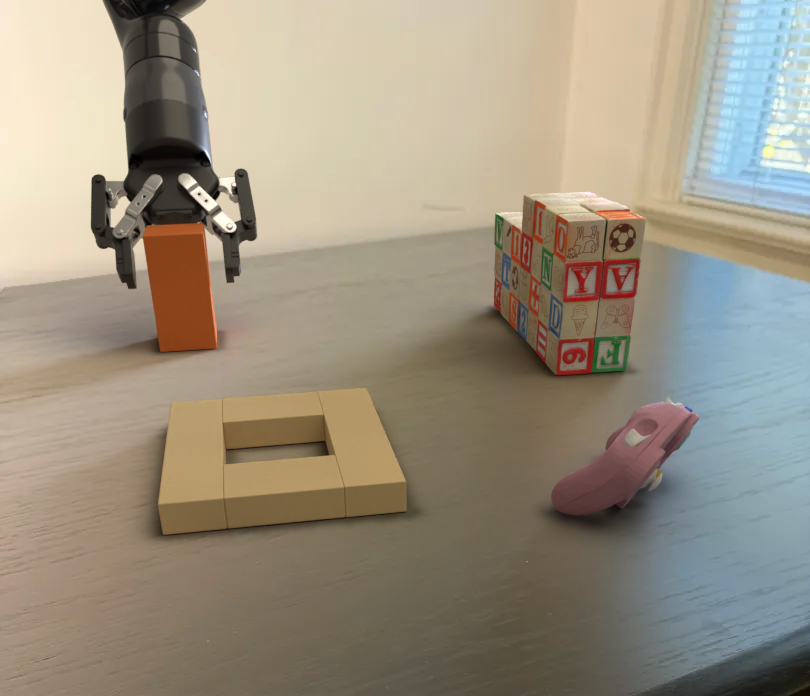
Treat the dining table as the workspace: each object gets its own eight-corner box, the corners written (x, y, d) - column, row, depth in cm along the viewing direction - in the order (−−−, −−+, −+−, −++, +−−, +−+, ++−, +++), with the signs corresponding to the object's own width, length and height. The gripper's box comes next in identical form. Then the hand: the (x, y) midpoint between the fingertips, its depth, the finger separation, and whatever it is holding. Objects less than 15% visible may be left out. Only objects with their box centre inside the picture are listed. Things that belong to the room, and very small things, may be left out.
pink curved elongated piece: (602, 554, 51) (671, 466, 46) (539, 504, 51) (601, 413, 47) (660, 488, 58) (725, 407, 53) (604, 446, 59) (663, 362, 54)
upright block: (160, 352, 79) (142, 236, 74) (163, 336, 83) (146, 225, 78) (217, 348, 80) (203, 233, 75) (217, 332, 84) (203, 222, 79)
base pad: (162, 535, 50) (157, 504, 49) (174, 428, 64) (170, 402, 63) (406, 511, 52) (406, 481, 51) (367, 413, 66) (366, 387, 65)
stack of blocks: (491, 307, 91) (495, 178, 84) (550, 304, 91) (559, 176, 85) (556, 376, 72) (568, 218, 66) (629, 371, 73) (647, 214, 67)
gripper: (247, 151, 87) (263, 299, 83) (96, 157, 84) (105, 308, 80) (243, 94, 79) (260, 252, 75) (77, 98, 77) (86, 261, 73)
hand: (180, 281), depth 78 cm, fingers open, 8 cm apart
